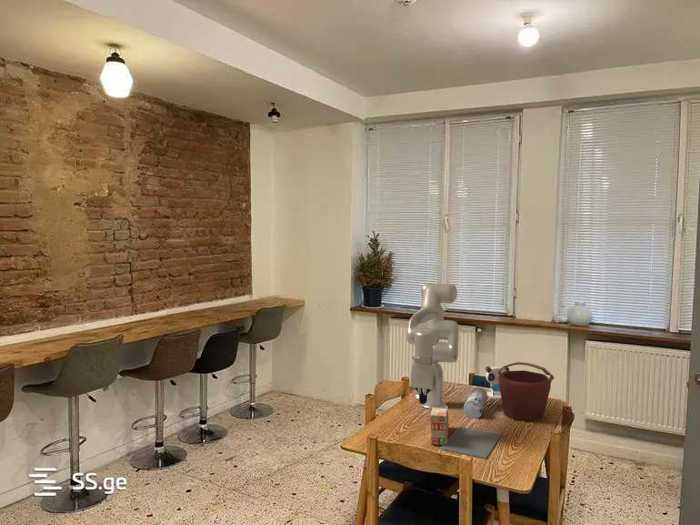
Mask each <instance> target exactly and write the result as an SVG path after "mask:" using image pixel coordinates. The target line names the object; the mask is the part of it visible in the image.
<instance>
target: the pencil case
mask: <svg viewBox="0 0 700 525" xmlns="http://www.w3.org/2000/svg"><path fill="white" fill-rule="evenodd" d="M487 400H488V396H487V390H485V389H484V388H483V387H474V388H473V389H471V391H470V393H469V396H468V398H467V399H466V402H465V403H464V405H463V411H464V413H465V415H466V416H467V417H468V418H470V419H471V418H472V419H478V418H481V416H482V415H483V412H484V409H485V405H486V403H487Z"/></svg>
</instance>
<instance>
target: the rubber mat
mask: <svg viewBox="0 0 700 525" xmlns="http://www.w3.org/2000/svg"><path fill="white" fill-rule="evenodd" d="M501 436H502V434H501V433H496V432H491V431H485V430H479V429H474V428H470V427H464V426H458V427H457V429H456V430H455V431H454V432H453V433H452V434H451V436H449V437H448V442H447V445H441V447H440V448H439V450H440V449H444V450H448V451H447V452H449V451H452V452H451V453H454V452H456V453H455V454H459V455H463V454H464V455H465V456H470V457H473V458H477V457H478V459H483V460H486V459H487V458H488V457H489V455H490V453H491V452H492V451H493V449H494V447H495V446H496V444H497V443H498V441H499V439H500V438H502V437H501ZM444 450H443V451H444ZM464 455H463V456H464Z"/></svg>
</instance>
